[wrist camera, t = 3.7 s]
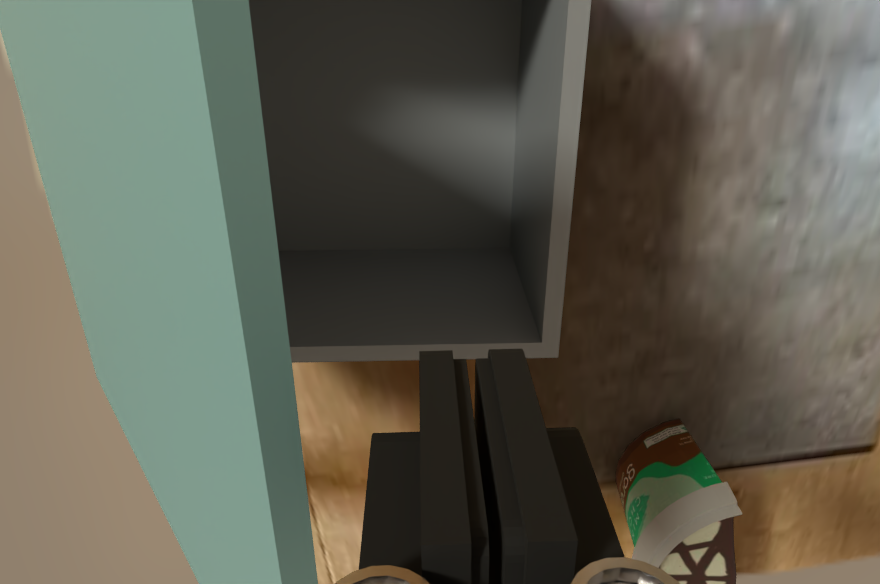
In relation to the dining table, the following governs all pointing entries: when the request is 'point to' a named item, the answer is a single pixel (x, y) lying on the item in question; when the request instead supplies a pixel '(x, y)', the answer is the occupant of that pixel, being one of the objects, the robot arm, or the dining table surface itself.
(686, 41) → the dining table surface
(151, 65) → the lid
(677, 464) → the food container
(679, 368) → the dining table surface
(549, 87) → the carton
